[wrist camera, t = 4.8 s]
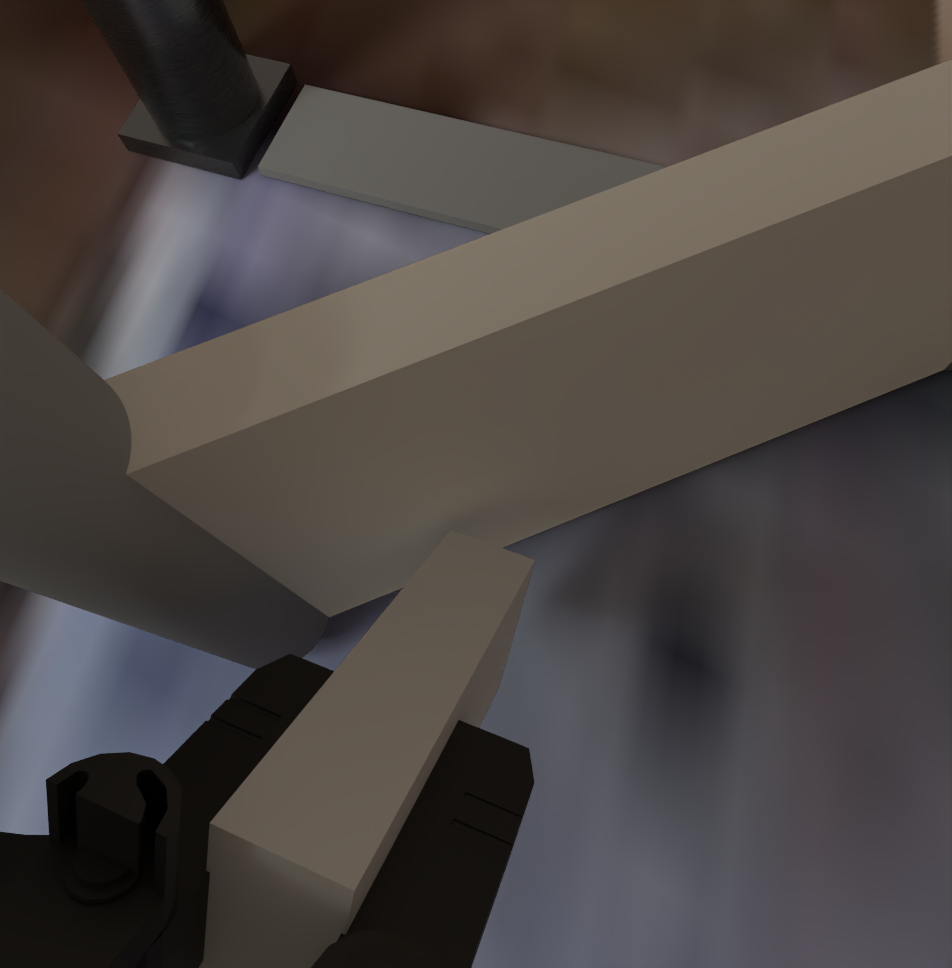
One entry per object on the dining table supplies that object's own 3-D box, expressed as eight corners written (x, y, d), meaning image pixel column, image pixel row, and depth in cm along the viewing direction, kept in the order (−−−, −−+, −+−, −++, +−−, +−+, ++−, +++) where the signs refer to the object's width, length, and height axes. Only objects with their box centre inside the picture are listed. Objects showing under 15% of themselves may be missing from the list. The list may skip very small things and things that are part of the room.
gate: (950, 282, 17) (1453, -322, 8) (1017, 369, 16) (1677, -190, 7) (202, 578, 16) (-284, 307, 7) (231, 688, 15) (-279, 555, 6)
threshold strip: (261, 175, 21) (257, 166, 20) (307, 93, 22) (305, 84, 21) (907, 340, 17) (912, 333, 17) (930, 236, 18) (936, 227, 18)
